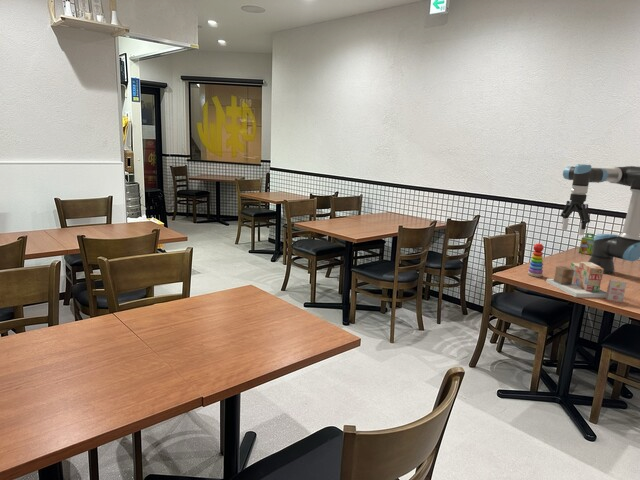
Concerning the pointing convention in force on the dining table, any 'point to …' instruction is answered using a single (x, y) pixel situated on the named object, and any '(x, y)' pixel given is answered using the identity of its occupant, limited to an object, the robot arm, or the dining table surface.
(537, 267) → the stacking toy
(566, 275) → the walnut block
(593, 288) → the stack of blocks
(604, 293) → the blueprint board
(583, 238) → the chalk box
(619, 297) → the white red printed box
